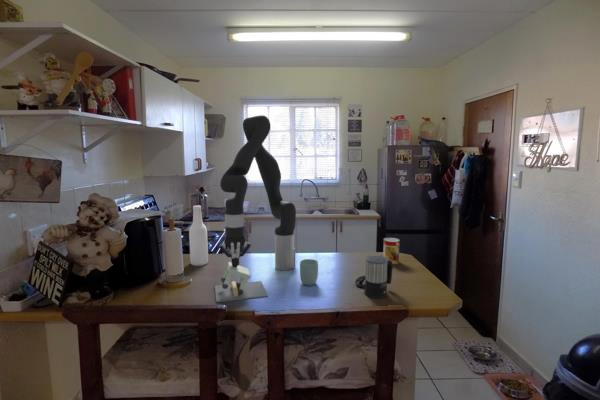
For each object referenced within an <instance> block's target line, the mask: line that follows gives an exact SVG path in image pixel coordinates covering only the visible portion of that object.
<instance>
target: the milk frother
mask: <svg viewBox="0 0 600 400" xmlns="http://www.w3.org/2000/svg"><path fill="white" fill-rule="evenodd" d="M364 260H365V275H361V276H359V277H358V278H356V279H355V281H354V282H355V285H356V286H358V287H359V288H364V292H363V293H364V295H365V296H367V297H369V298H373V299H383V298H385V297H387V296H388V291H387V290H388V289H387V288H388V286H387V285H390V284H392V279H393V278H392V277H393V265H394V264H392V262H391V261H390V260H388V259H387V258H385V257H383V256H381V255H368V256H366V257H365V258H364ZM363 283H364V284H363Z"/></svg>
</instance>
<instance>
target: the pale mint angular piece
mask: <svg viewBox="0 0 600 400" xmlns="http://www.w3.org/2000/svg"><path fill="white" fill-rule="evenodd" d="M226 266H227V268H226V269H225V273H224V274H223V276H222V277H221V278H220V281H221V283H222V284H221V285H222V288H223V289H226V288H228V284H230V281H231V279H232V277H233V275H236V276H238V277H239V278H238V281H237V282H236V286H237V287H238V288H239V289H238V293H239V294H242V293H243V289H244V287H245V285H246V283H247V282H248V281H249V280H250V279H251V277H252V275H251V274H252V273H251V272H250V269H249V268H247V267H244V266H242V265H239V266H237V267H234V266H232V261H228V262H227V265H226Z"/></svg>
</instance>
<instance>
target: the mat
mask: <svg viewBox="0 0 600 400" xmlns="http://www.w3.org/2000/svg"><path fill="white" fill-rule="evenodd" d="M236 283H237V282H236V281H234V280H233V281H231V283H228V288H226V289H223V288H222V284H220V285H214V293H215V301H216V303H223V302H233V301H241V300H250V299H259V298H265V297H266V298H268V296H269V294H268V292H267V291H266V288H265V286H264V284H263V282H262V280H257V281H247V283H246V285H245V287H244V289H243V293H242V294H239V293H238V289H239V288H238V287H237V286H236Z"/></svg>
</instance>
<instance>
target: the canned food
mask: <svg viewBox="0 0 600 400" xmlns="http://www.w3.org/2000/svg"><path fill="white" fill-rule="evenodd" d="M382 249H383V250H382V251H383V256H382V257H385V258H387V259H388V260H390V261H391V262H392V264H393V265H398V264H399V262H400V260H399V259H400V239H399V238H395V237H384V238H383V248H382Z"/></svg>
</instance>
